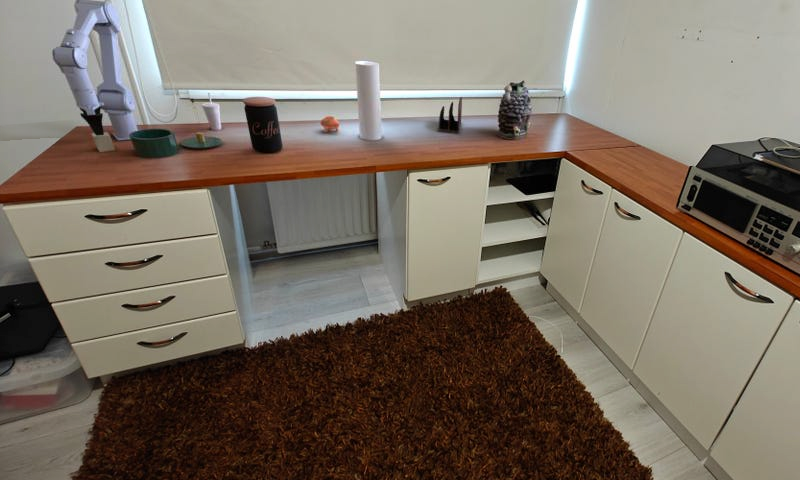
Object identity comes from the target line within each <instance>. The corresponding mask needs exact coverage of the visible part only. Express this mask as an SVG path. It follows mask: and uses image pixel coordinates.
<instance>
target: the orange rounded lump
mask: <svg viewBox="0 0 800 480" xmlns="http://www.w3.org/2000/svg"><path fill="white" fill-rule="evenodd" d="M320 125H321V126H322V127H323V128H324V131H325V133H328V131H332V130H335V131H336V132H338V131H339V126H340V122H339V121H338V120H337V119H336V118H335V117H334V116H331V115H329V116H325V117H324V118H322V119H321V121H320Z"/></svg>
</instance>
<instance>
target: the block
mask: <svg viewBox="0 0 800 480" xmlns="http://www.w3.org/2000/svg"><path fill="white" fill-rule="evenodd" d="M91 137H92V140H93V143H94V144H95V145H94V146H95V147H96V149H97V151H98V152H99V153H105V152H112V151H116V148H115V145H114V142H113V139H112V138H111V135H110V133H108V132H107V131H104V135H95V133H94V132H93V133H91Z"/></svg>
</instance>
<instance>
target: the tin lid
mask: <svg viewBox="0 0 800 480" xmlns="http://www.w3.org/2000/svg"><path fill="white" fill-rule="evenodd" d="M222 144H223V140H222V139H221V138H219V137H216V136H207V135H204V132H203V131H202V132H201V131H197V132H195V136H191V137H187V138H184V139H182V140H181V141H180V146H181V147H184V148H187V149H194V150H195V149H197V150H202V149H203V150H204V149H210V148H211V149H212V148H215V147H219V146H221V145H222Z"/></svg>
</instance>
